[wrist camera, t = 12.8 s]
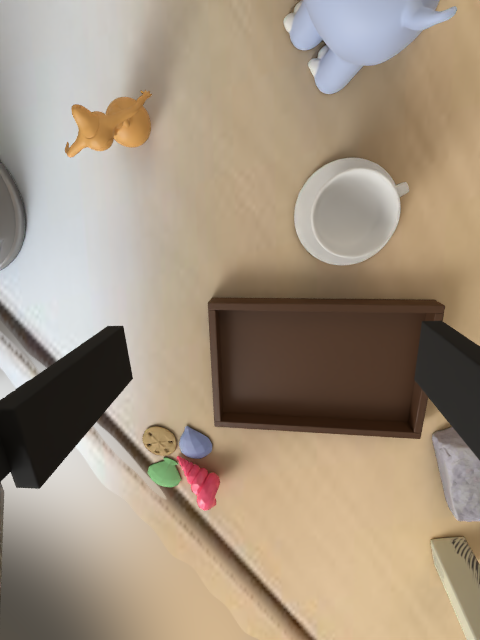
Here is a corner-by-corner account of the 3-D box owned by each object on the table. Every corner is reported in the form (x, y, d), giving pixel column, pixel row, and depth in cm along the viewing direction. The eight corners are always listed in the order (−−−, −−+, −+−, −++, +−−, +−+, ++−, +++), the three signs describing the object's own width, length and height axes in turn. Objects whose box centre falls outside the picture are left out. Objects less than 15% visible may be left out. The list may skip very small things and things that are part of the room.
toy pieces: (234, 438, 42) (229, 463, 38) (215, 500, 46) (209, 528, 42) (147, 413, 42) (132, 434, 38) (135, 476, 46) (121, 502, 42)
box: (467, 561, 44) (538, 695, 32) (432, 564, 45) (489, 695, 33) (463, 533, 42) (536, 661, 30) (427, 536, 43) (485, 662, 31)
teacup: (318, 280, 34) (323, 290, 30) (277, 191, 32) (277, 188, 28) (413, 236, 32) (434, 240, 27) (376, 136, 29) (393, 123, 25)
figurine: (162, 83, 30) (91, 6, 19) (193, 146, 32) (144, 110, 20) (93, 130, 32) (-7, 87, 21) (125, 188, 34) (47, 176, 22)
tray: (212, 297, 36) (207, 302, 34) (434, 299, 33) (445, 305, 31) (217, 415, 41) (214, 426, 39) (412, 426, 38) (420, 439, 36)
